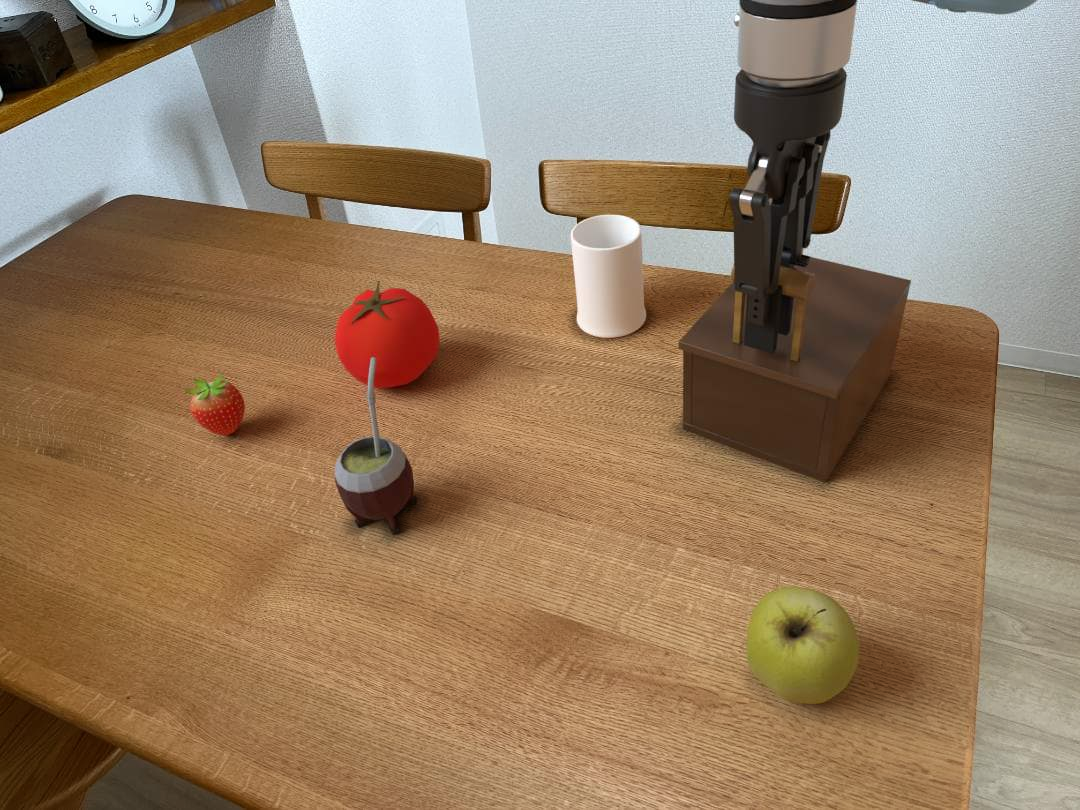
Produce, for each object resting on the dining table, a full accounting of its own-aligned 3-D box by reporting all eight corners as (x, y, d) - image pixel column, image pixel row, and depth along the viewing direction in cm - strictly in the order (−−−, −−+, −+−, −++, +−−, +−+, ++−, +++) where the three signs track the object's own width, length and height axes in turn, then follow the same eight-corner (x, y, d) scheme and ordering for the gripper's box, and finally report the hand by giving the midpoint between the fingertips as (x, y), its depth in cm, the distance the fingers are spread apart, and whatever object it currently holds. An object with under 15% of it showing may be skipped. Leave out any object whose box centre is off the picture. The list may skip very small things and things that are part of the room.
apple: (818, 600, 65) (850, 556, 57) (856, 702, 61) (897, 670, 52) (722, 620, 65) (740, 578, 56) (754, 723, 61) (779, 695, 52)
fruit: (240, 411, 94) (214, 357, 89) (263, 429, 91) (238, 374, 86) (199, 437, 91) (169, 382, 86) (221, 456, 88) (193, 401, 83)
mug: (599, 280, 106) (593, 197, 98) (662, 289, 103) (661, 203, 95) (566, 332, 98) (556, 246, 90) (633, 343, 95) (629, 254, 87)
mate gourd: (362, 551, 76) (315, 436, 66) (341, 498, 81) (295, 384, 72) (436, 520, 78) (401, 403, 68) (410, 469, 83) (375, 355, 73)
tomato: (421, 333, 102) (401, 256, 94) (464, 378, 94) (446, 297, 86) (333, 372, 97) (305, 295, 90) (370, 422, 90) (343, 342, 82)
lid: (836, 399, 68) (852, 305, 62) (678, 349, 76) (678, 260, 69) (909, 287, 79) (929, 197, 72) (764, 253, 86) (771, 168, 80)
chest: (825, 482, 76) (840, 394, 69) (682, 429, 83) (682, 344, 76) (890, 375, 86) (909, 288, 79) (757, 336, 93) (764, 253, 86)
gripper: (784, 28, 63) (764, 285, 78) (690, 101, 54) (687, 373, 69) (883, 37, 59) (840, 305, 74) (798, 116, 50) (770, 401, 66)
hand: (767, 337), depth 72 cm, fingers closed on lid, 2 cm apart
